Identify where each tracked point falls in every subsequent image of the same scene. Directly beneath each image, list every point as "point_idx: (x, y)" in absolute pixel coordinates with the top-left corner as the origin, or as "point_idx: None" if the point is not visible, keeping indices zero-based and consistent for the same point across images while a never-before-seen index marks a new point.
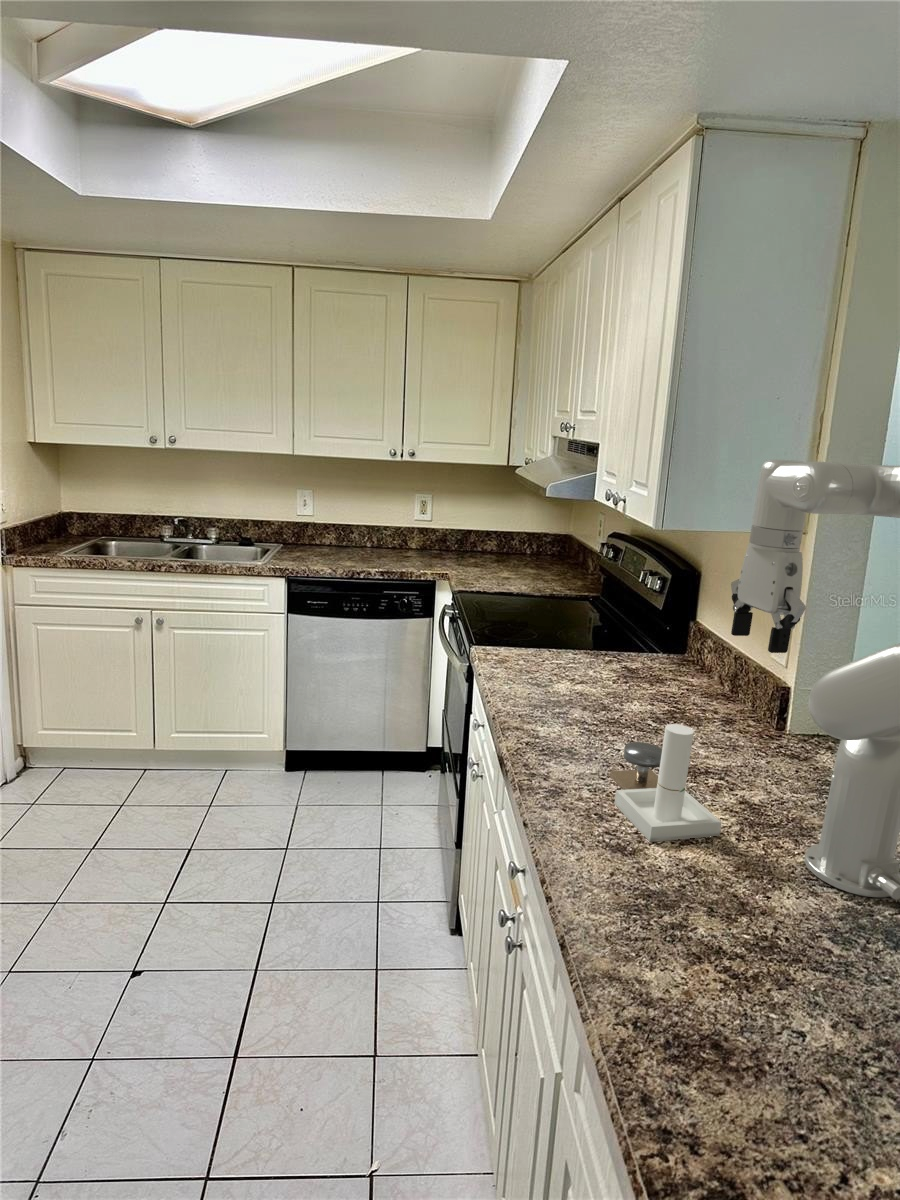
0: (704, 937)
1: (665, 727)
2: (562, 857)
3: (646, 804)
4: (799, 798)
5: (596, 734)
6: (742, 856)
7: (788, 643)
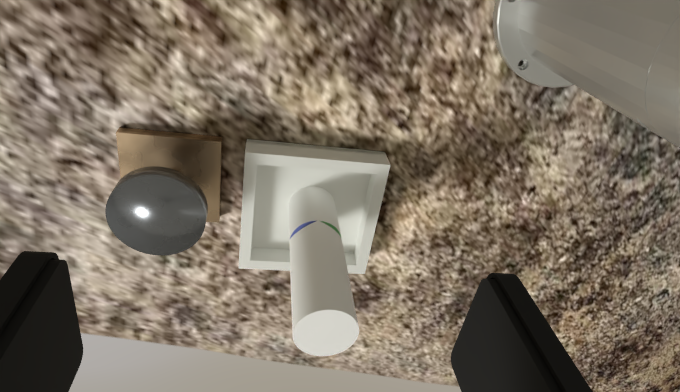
0: (539, 296)
1: (308, 353)
2: (356, 357)
3: (263, 215)
4: None
5: None
6: (445, 154)
7: (541, 317)
